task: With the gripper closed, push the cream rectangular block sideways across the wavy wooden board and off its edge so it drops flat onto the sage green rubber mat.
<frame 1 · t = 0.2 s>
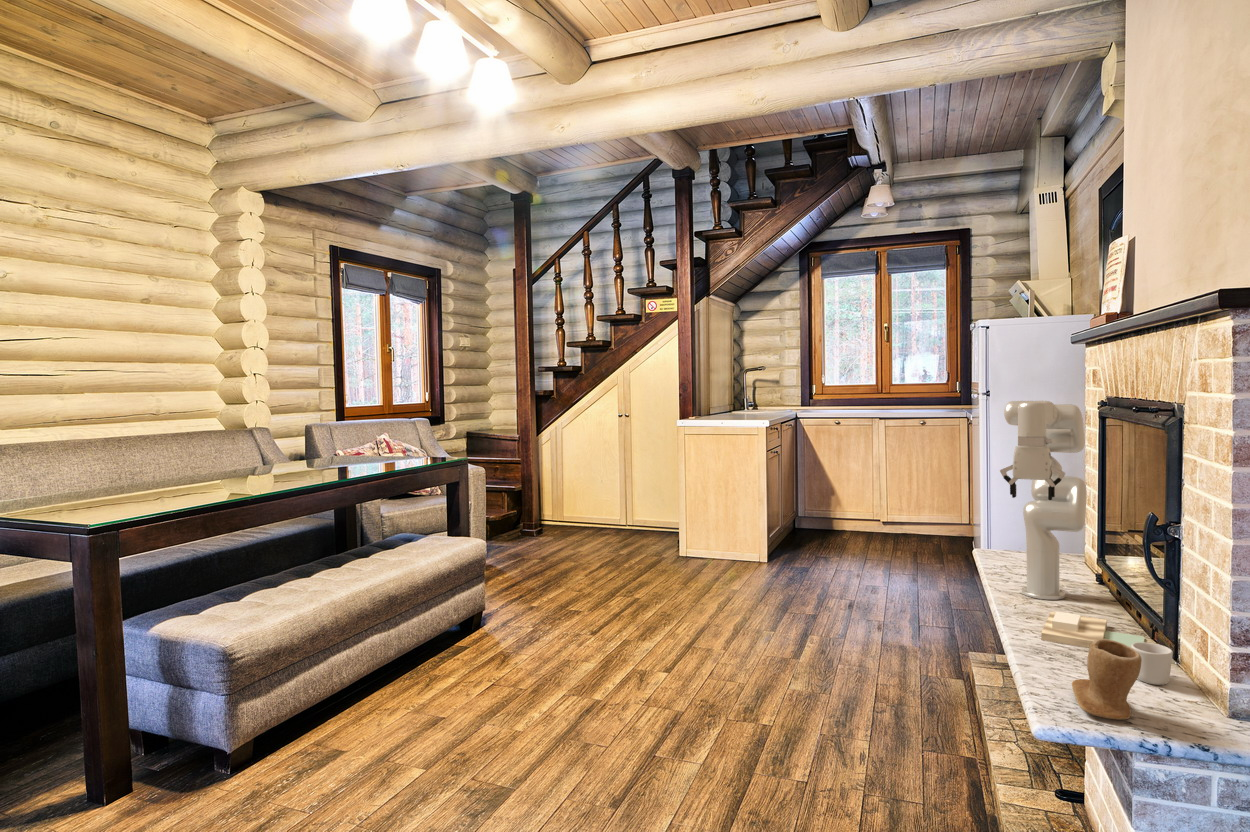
hand: (1032, 498, 216), 36 cm above the fireplace hearth, tool pointing down, fingers open, 9 cm apart
cup: (1152, 679, 170), on the fireplace hearth
mat: (1123, 645, 192), on the fireplace hearth
cream rectangular block: (1066, 624, 203), point 2 cm above the fireplace hearth, touching wavy wooden board
brown hollow flared vessel: (1106, 709, 156), on the fireplace hearth
wavy wooden board: (1074, 633, 202), on the fireplace hearth
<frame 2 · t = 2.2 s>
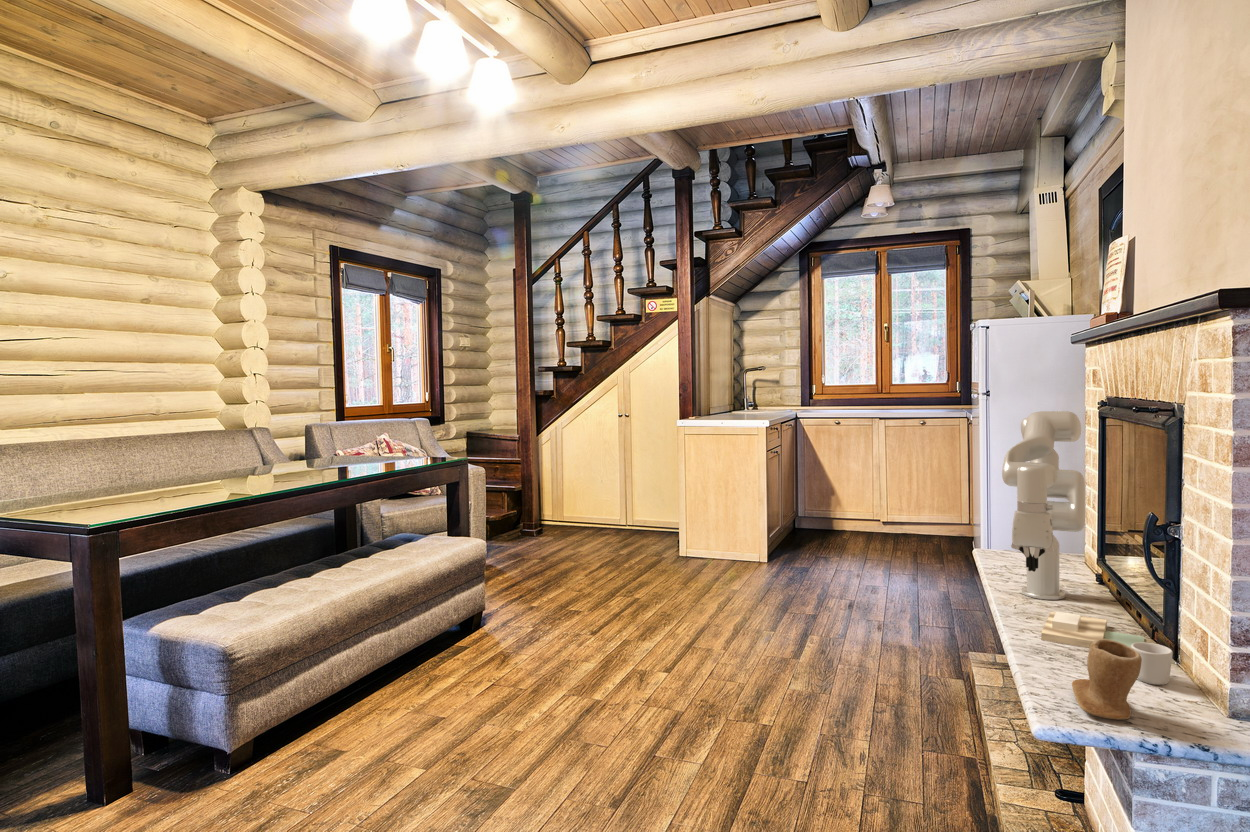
hand: (1032, 570, 207), 17 cm above the fireplace hearth, tool pointing down, fingers closed
nothing on the fireplace hearth moved.
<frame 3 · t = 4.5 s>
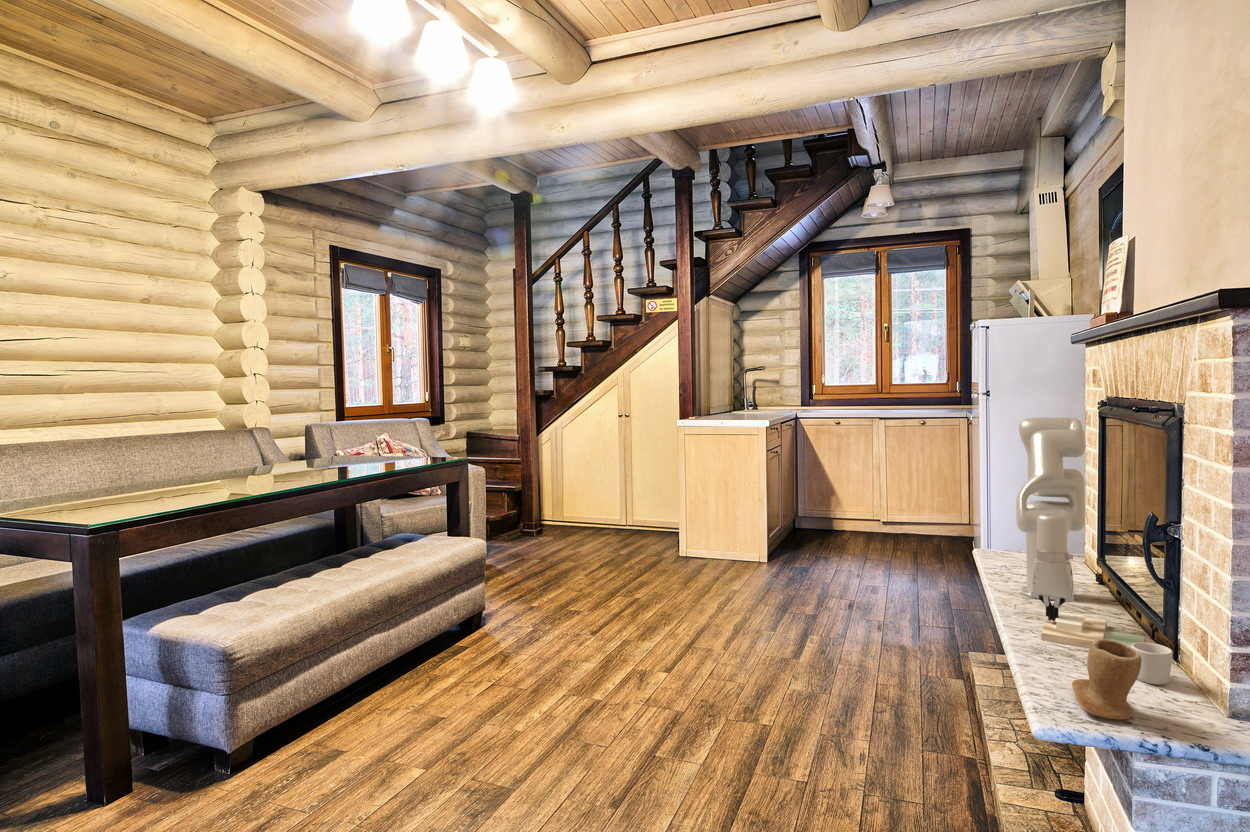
hand: (1052, 619, 205), 3 cm above the fireplace hearth, tool pointing down, fingers closed
cream rectangular block: (1070, 625, 202), point 2 cm above the fireplace hearth, touching wavy wooden board
everything else where it was.
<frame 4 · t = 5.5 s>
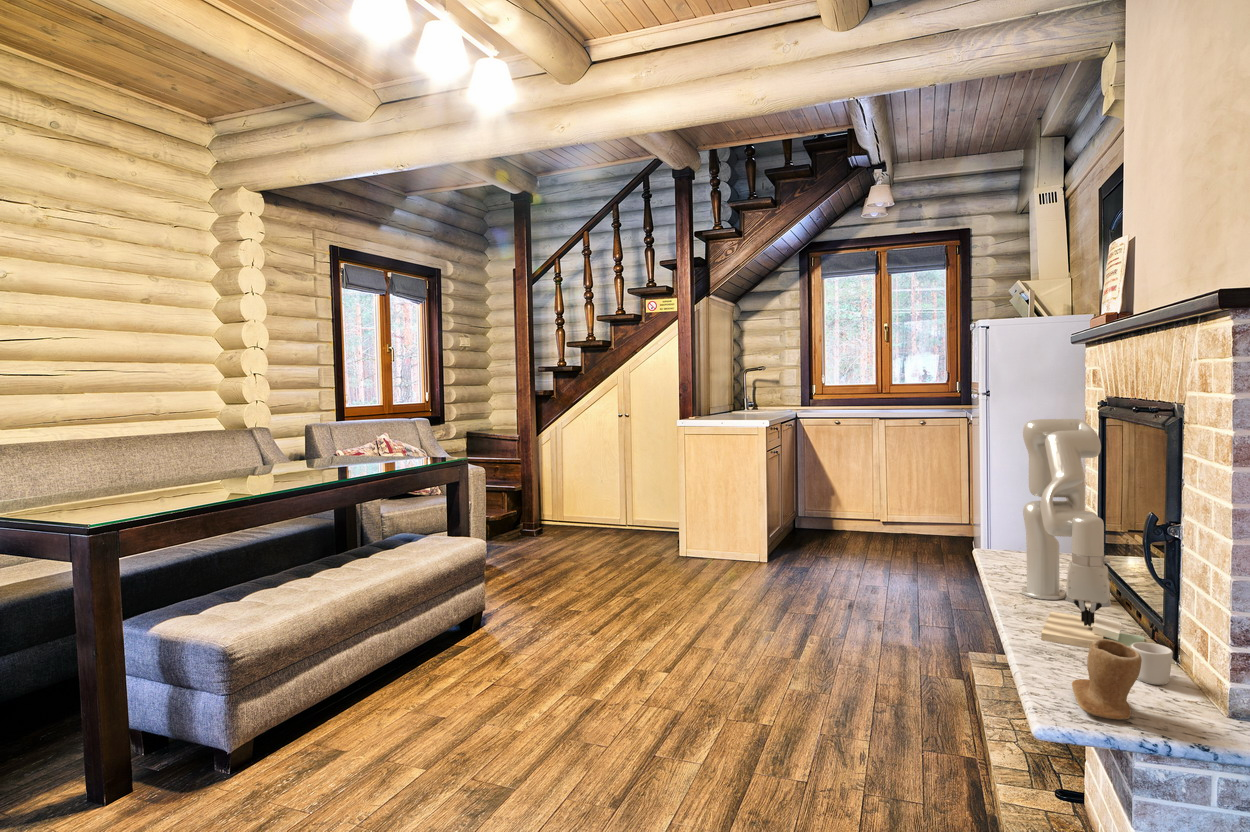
hand: (1087, 624, 200), 3 cm above the fireplace hearth, tool pointing down, fingers closed
cream rectangular block: (1106, 631, 197), point 2 cm above the fireplace hearth, tilted 10°, touching gripper
everything else where it was.
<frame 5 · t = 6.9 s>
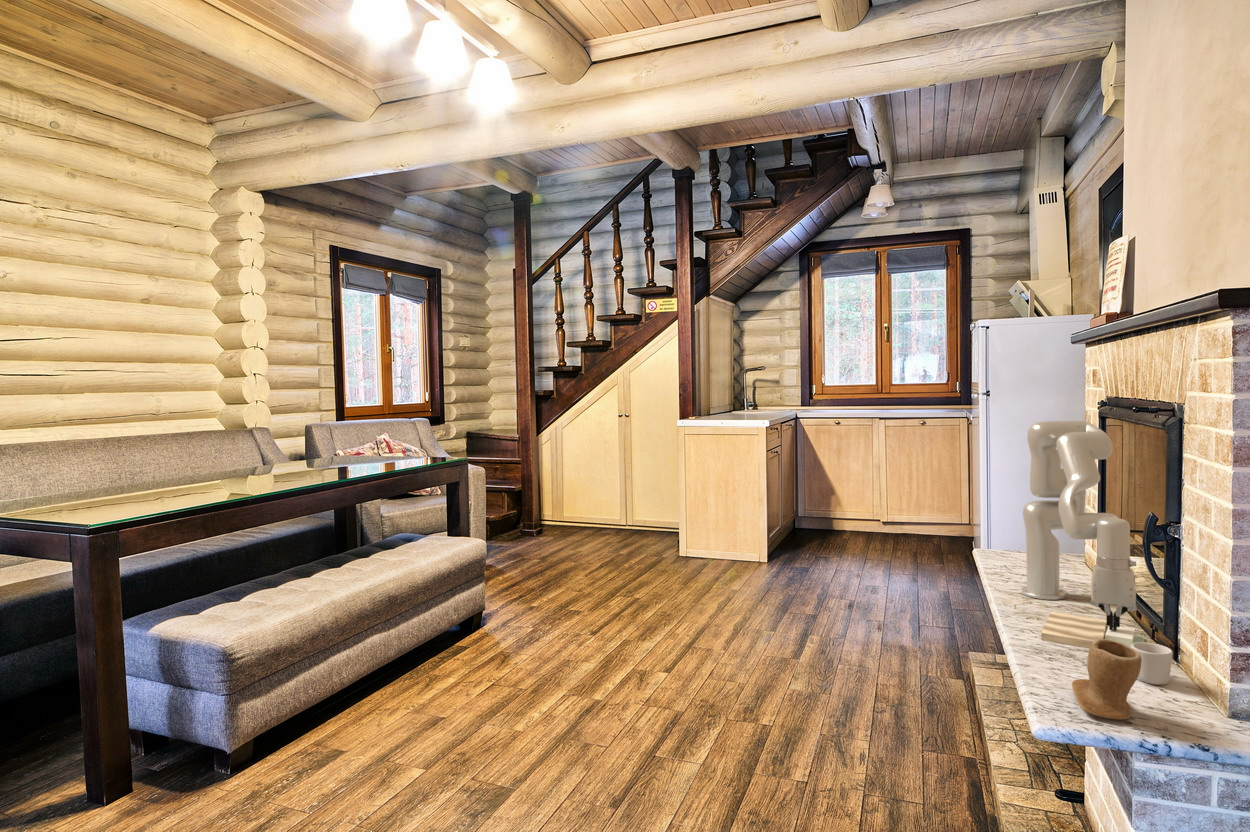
hand: (1113, 628, 196), 3 cm above the fireplace hearth, tool pointing down, fingers closed
cream rectangular block: (1120, 638, 195), resting on mat
everything else where it was.
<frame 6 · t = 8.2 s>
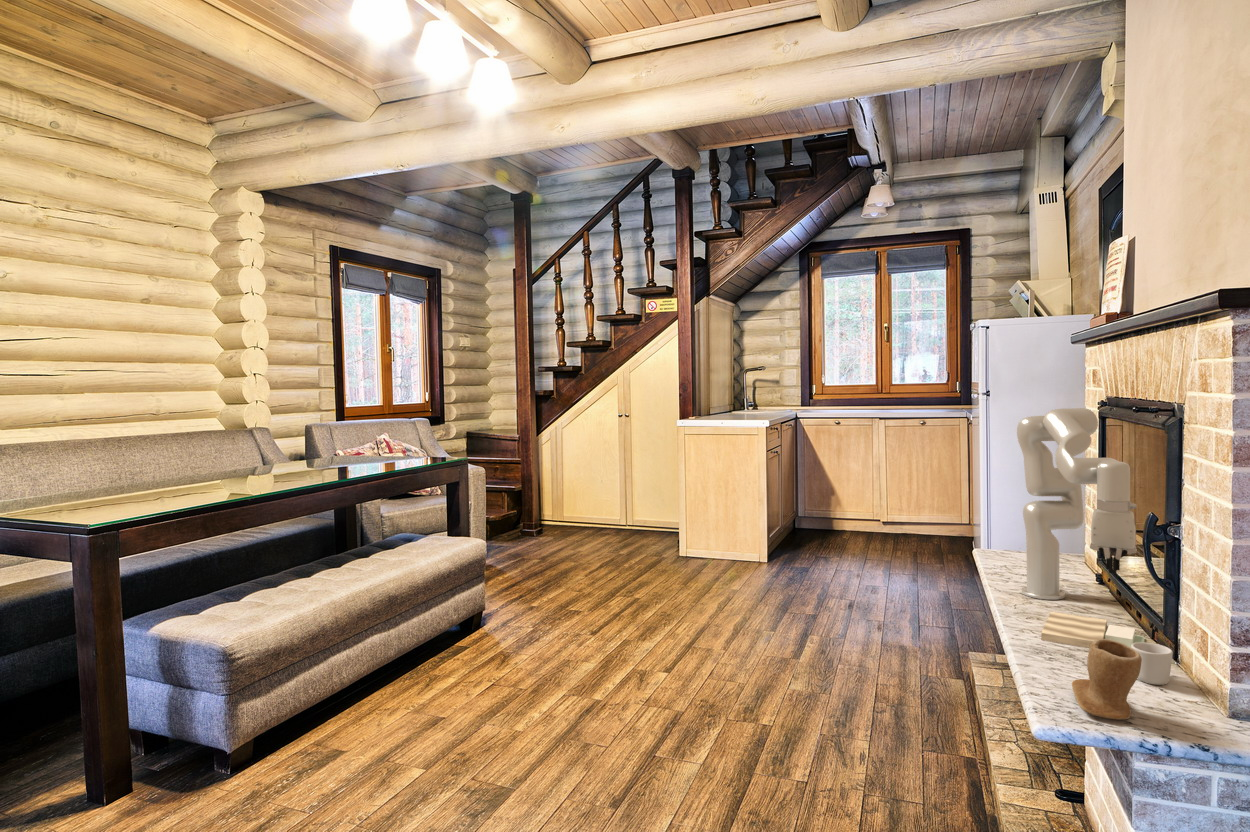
hand: (1112, 572, 196), 19 cm above the fireplace hearth, tool pointing down, fingers closed
nothing on the fireplace hearth moved.
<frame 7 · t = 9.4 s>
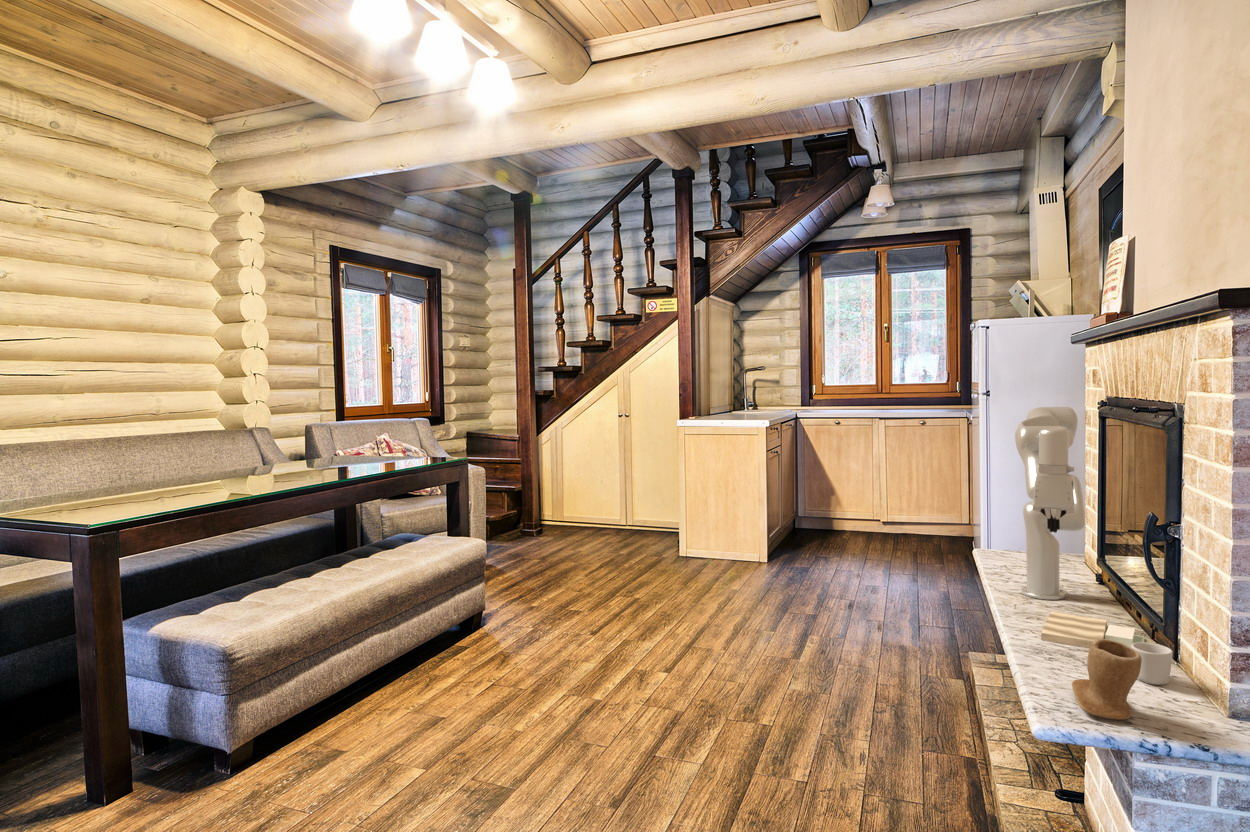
hand: (1053, 531, 211), 27 cm above the fireplace hearth, tool pointing down, fingers closed
nothing on the fireplace hearth moved.
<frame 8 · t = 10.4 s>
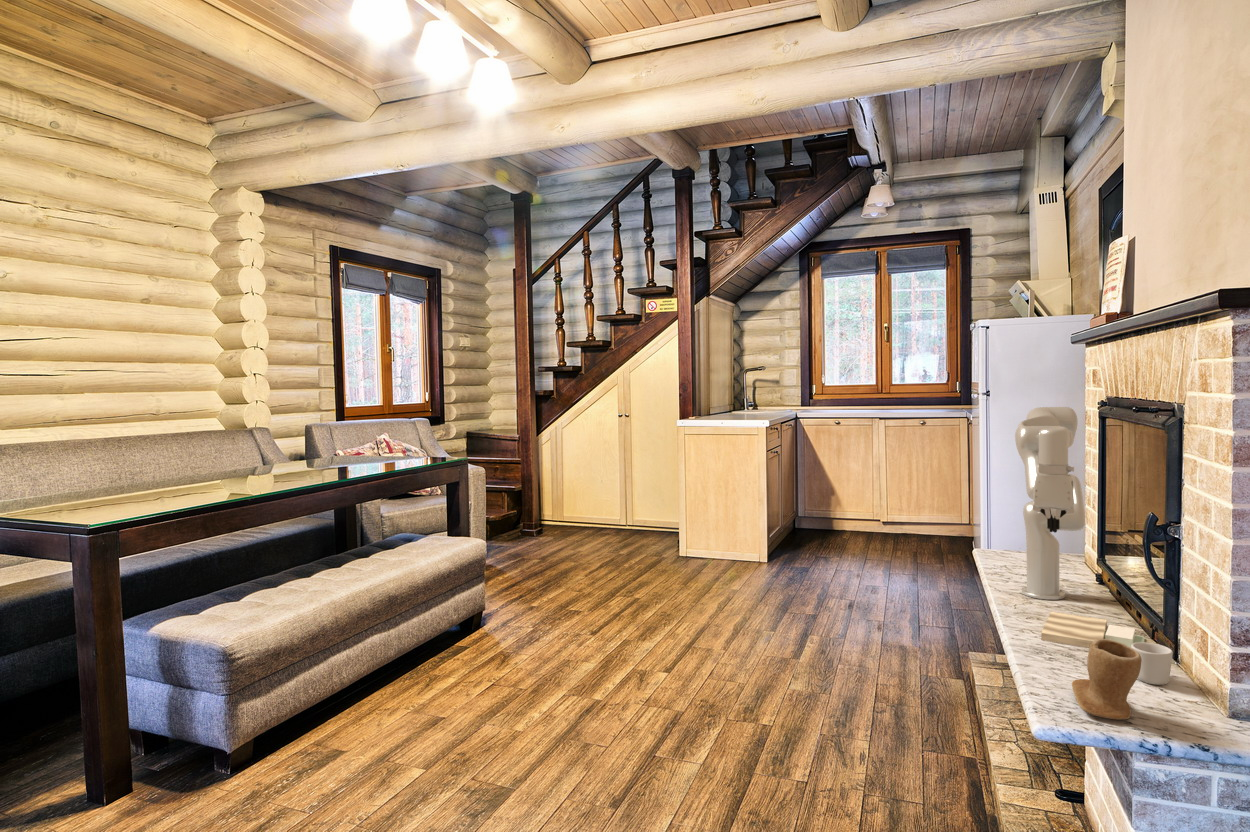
hand: (1053, 531, 211), 27 cm above the fireplace hearth, tool pointing down, fingers closed
nothing on the fireplace hearth moved.
at the end: cream rectangular block point 0.5 cm above the fireplace hearth; cream rectangular block inside the target area (3.8 cm from its centre), point 0.5 cm above the fireplace hearth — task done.
